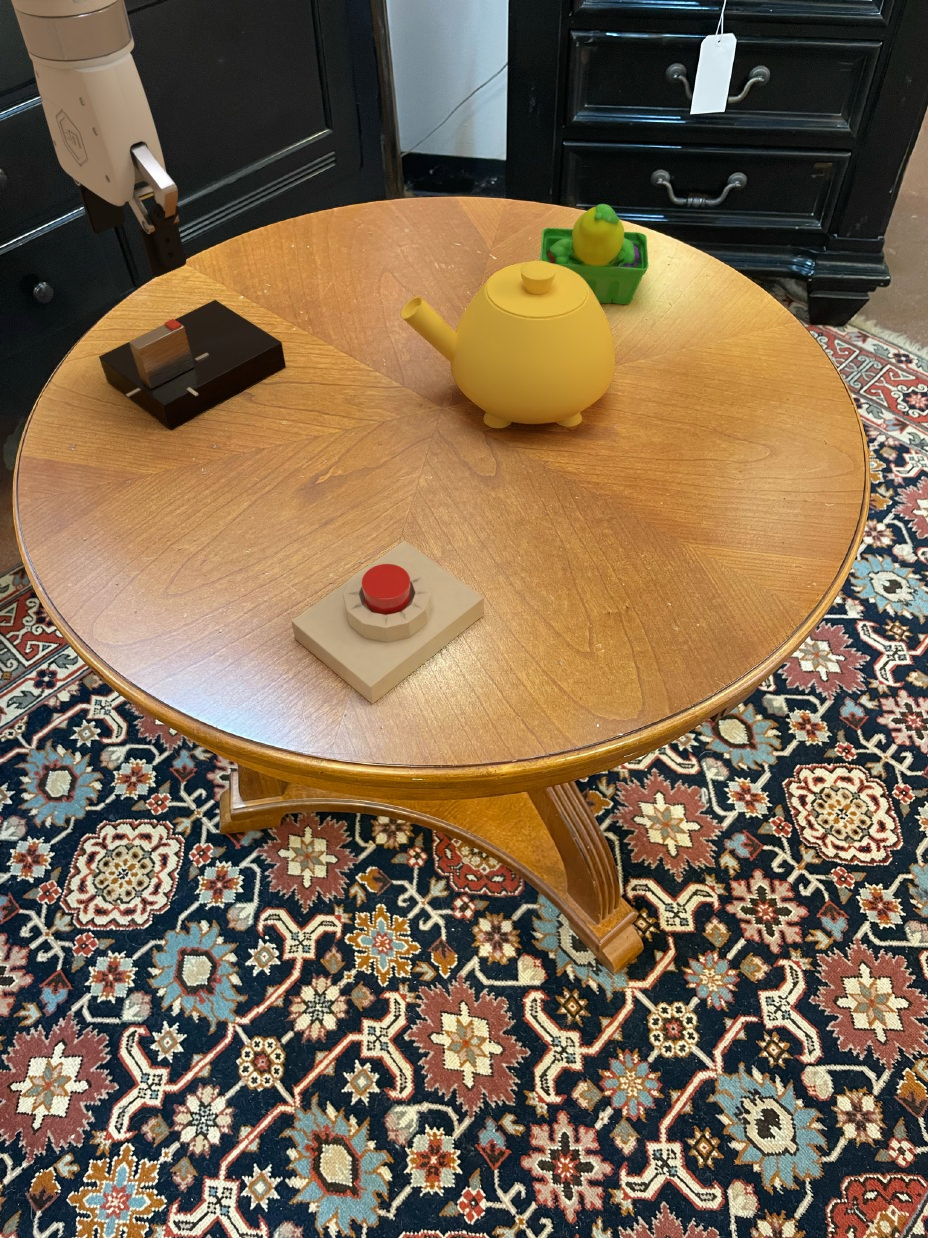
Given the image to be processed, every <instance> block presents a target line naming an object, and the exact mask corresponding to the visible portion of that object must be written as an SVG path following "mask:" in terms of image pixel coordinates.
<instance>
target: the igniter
mask: <svg viewBox="0 0 928 1238" xmlns="http://www.w3.org/2000/svg"><path fill="white" fill-rule="evenodd" d="M381 564H394V565H397V566H400V567H401V568H403V569H404V570H405V571H406V572H407V573H408V575H409V577H410V587H411V599H410V602H409V604H408V605H407V606H406V607H405V608H404V609H403V610H401V611H399V612H397V613H393V614H379V613H376V612H373V611H372V610H370V609H369V608H368V607H367V606H366V604H365V602H364V598H363V590H362V579H363V576H364V575H365V573H366V572H367V571H368V570H369V569H371V568H372V567H374V566H377V565H381ZM484 610H485V597H484V596H483V595H482V594H481V593H479V592H477V591H476V590H474V589H473V588H472V587H471V586H469V585H468V584H467V583H465V582H464V581H462V580H461V579H460V578H458V577H457V576H455V575H454V574H452V573H451V572H450V571H449V570H447V569H446V568H444V567H443V566H441V565H440V564H438V563H437V562H436V561H434V560H433V559H432V558H430V557H429V556H427V555H426V554H425V553H424V552H422V551H420V550H419V549H418V548H416V547H415V546H414V545H412V544H411V543H409V542H408V541H406V540H402V541H401V542H400V543H399V544H397V545H395V546H394V547H393V548H390V550H388V551H387V552H385V553H384V554H383V555H382V556H379V558H377V559H376V560H374V561H373V562H372V563H370V564H368V565H366V566H364V567H363V568H361V569H359V571H357V572H356V573H354V574H353V575H352V576H350V577H349V579H347V580H346V581H345V582H343V583H342V584H341V585H339V586H338V587H336V588H335V589H333V590H332V591H331V592H329V593H328V594H326V595H325V596H323V597H322V598H321V599H320V600H318V601H317V602H315V603H314V604H313V605H311V606H309V607H308V608H307V609H306V610H304V611H302V613H300V614H299V615H297V616H296V617H294V618H293V619H291V627H292V631H293V636H294V639H295V640H296V641H297V642H299V643H300V644H301V645H302V646H303V647H304V648H306V649H307V650H308V651H309V652H310V653H312V654H313V655H314V656H315V657H316V658H317V659H319V660H320V661H321V662H322V663H323V664H325V666H327V667H328V668H329V669H330V670H331V671H332V672H334V673H335V674H337V676H339V677H340V678H341V679H342V680H344V681H345V682H346V683H347V684H348V685H349V686H350V687H351V688H353V689H354V690H355V691H356V692H357V693H359V694H360V695H361V696H362V697H363V698H365V699H366V700H367V701H368V702H369V703H370V704H371V705H373V704H375V703H376V702H377V701H379V700H380V699H382V697H384V696H385V695H386V694H387V693H388V692H390V691H391V690H392V689H394V688H395V687H396V686H398V684H400V683H401V682H402V681H403V680H405V679H406V678H408V676H410V675H411V674H412V673H413V672H415V671H416V670H418V669H419V667H421V666H422V665H423V664H425V662H427V661H429V660H430V659H431V658H432V657H434V655H436V654H437V653H439V651H441V650H442V649H443V648H444V647H446V646H448V645H449V644H450V643H451V642H452V641H453V640H455V639H456V638H457V637H458V636H459V635H461V634H462V633H463V632H464V631H465V630H467V629H468V628H469V627H471V626H472V625H474V623H476V622H477V621H478V620H480V619H481V618H482V617H483V616H484V614H485V613H484V612H485V611H484Z"/></svg>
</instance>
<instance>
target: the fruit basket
mask: <svg viewBox="0 0 928 1238" xmlns="http://www.w3.org/2000/svg"><path fill="white" fill-rule="evenodd" d="M624 228H625V227H624V225H623V223H622V221H621V219H620V217H619V216H617V213H616V211H615V210H614V209H613V207H612V206H610V205H609V204H605V203H600V204H597V205H596V206H593V207H591V208H589V209H587V211H585V212H583V213H582V214H581V215H580V216H579V217H578V218H577V220H576V221H575V223H574V225H573V228H560V227H546V228H544V229H542V231H541V243H540V244H541V245H540V246H541V247H540V257H539V261H546V262H549V263H552V264H557V265H560V266H563V267H566V268H568V269H570V270H572V271H574V272H575V273H577V274H578V275H580V276H581V277H582V278H583V279H584V280H585V281H586V283H587V284H588V285H589V287H590V288H591V289H592V291H593V293H594V295H595V296H596V298H597V300H598V302H599V303H600V304H611V303H613V304H615V305H630V304H631V303H632V300H633V298H634V296H635V294H636V291H637V290H638V288H639V285H640V283H641V281H642V278H643V276H644V275H645V274H646V273H647V271H648V269H649V252H648V238H647V235H646V234H644V233H642V232H637V231H625V229H624Z"/></svg>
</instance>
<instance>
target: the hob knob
mask: <svg viewBox="0 0 928 1238" xmlns="http://www.w3.org/2000/svg"><path fill="white" fill-rule="evenodd" d="M174 319H175V318H171V319H169V320H167V321H165V322H163V324H162V325H163V326H162V325H161V327H160V326H158V327H159V328H158V327H156V328H153V329H151V330H150V331H148V332H146V333H143V334H142V335H140V336H137V337H136V338H134V339H131V340H130V341H128V342H129V343H130V347H131V350H132V353H133V356H134V359H135V363H136V366H137V369H138V372H139V375H140V379H141V382H142V383H143V384H144V385H146V386H147V387H148V388H150V389H153V388H155V387H157V386H159V385H161V384H163V383H165V382H167V381H168V380H170V379H172V378H174V377H176V376H178V375H180V374H182V373H184V372H186V371H188V370H189V369H191V368H193V367H194V362H193V359H192V355H191V351H190V347H189V343H188V339H187V335H186V331H185V328H184V326H183V325H182V324H180V323H179V322H177V321H176V320H174ZM164 324H165V325H164Z"/></svg>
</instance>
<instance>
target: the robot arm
mask: <svg viewBox="0 0 928 1238" xmlns="http://www.w3.org/2000/svg"><path fill="white" fill-rule="evenodd" d="M10 1H11V5H12V6H13V10H14V13H15V16H16V19H17V22H18V25H19V29H20V31H21V34H22V38H23V41H24V43H25V46H26V50H27V53H28V56H29V59H30V60H31V61H32V66H33V71H34V76H35V81H36V84H37V89H38V93H39V97H40V100H41V101H40V102H41V104H42V108H43V113H44V115H45V119H46V123H47V126H48V129H49V133H50V136H51V140H52V143H53V147H54V150H55V154H56V156H57V160H58V162H59V165H60V166H61V168H62V169H63V171H64V172H65V173H66V174H67V175H69V176H70V177H71V178H72V179H73V181H74V182H75V184H76V185H77V186H78V187H77V190H78V194H79V197H80V200H81V203H82V206H83V209H84V213H85V216H86V219H87V221H88V224H89V228H90V230H91V231H92V232H94V233H95V234H101V233H103V232H105V231H107V230H108V231H109V230H111V229H114V228H116V227H119V226H121V225H123V224H125V222H126V220H127V218H126V217H127V216H126V214H125V211H124V207H123V206H124V205H125V204H126V202H128V204H129V206H130V207H131V209H132V212H133V213H134V215H135V217H136V218H137V220H138V222H139V224H140V226H141V229H140V230H138V234H139V237H140V241H141V244H142V248H143V252H144V255H145V258H146V262H147V265H148V269H149V273H150V274H151V275H152V276H153V277H155V278H159V277H162V276H164V275H167V274H169V273H171V272H173V271H176V270H179V269H180V268H183V267H185V266H186V264H187V257H186V253H185V248H184V245H183V240H182V237H181V232H180V229H179V225H178V223H179V222H180V218H179V213H180V206H179V205H178V204H179V203H178V201H179V199H178V198H179V189H178V187H177V184H176V183H175V182H174V180H173V179H172V178H171V176H170V175H169V174H168V173H167V169H166V163H165V159H164V154H163V152H162V151H163V150H162V147H161V146H162V145H161V143H160V139H159V136H158V132H157V129H156V124H155V122H154V118H153V115H152V112H151V108H150V105H149V101H148V97H147V96H146V92H145V90H144V89H145V88H144V86H143V84H142V80H141V77H140V75H139V72H138V68H137V66H136V63H135V60H134V58H133V55H132V54H131V52H132V51H133V49H134V48H135V41H134V37H133V33H132V28H131V24H130V21H129V17H128V12H127V9H126V8H127V7H126V4H125V1H124V0H10ZM142 182H145V183H146V185H144V186H142V187H139V188H136V189H135V185H136V184H138V183H142ZM153 196H154V200H155V204H152V205H151V208H150V210H149V212H148V211H147V209H146V207H145V205H144V204H143V202H142V200H145V199H147V198H150V197H153Z"/></svg>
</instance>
